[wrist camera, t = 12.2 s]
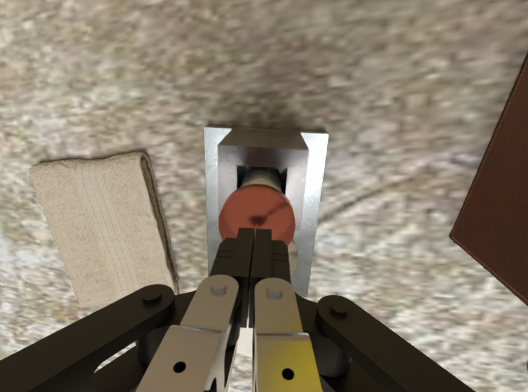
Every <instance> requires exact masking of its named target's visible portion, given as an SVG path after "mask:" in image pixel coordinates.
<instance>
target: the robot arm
mask: <svg viewBox="0 0 528 392" xmlns="http://www.w3.org/2000/svg"><path fill="white" fill-rule="evenodd" d="M254 241H255V242H254ZM248 311H249V325H248V328H253V338H252V392H322V391H323V392H475V391H474V390H473V389H471V388H470V387H469V386H467V385H466V384H464V383H463V382H462V381H460V380H459V379H458V378H456V377H455V376H453V375H452V374H451V373H449V372H448V371H447V370H445V369H444V368H443V367H441V366H440V365H438V364H437V363H436V362H434V361H433V360H432V359H430V358H429V357H427V356H426V355H425V354H423V353H422V352H421V351H419V350H418V349H417V348H415V347H414V346H412V345H411V344H410V343H408V342H407V341H406V340H404V339H403V338H401V337H400V336H399V335H397V334H396V333H395V332H393V331H392V330H391V329H389V328H388V327H386V326H385V325H384V324H382V323H381V322H380V321H378V320H377V319H375V318H374V317H373V316H371V315H370V314H369V313H367V312H366V311H365V310H363V309H362V308H360V307H359V306H358V305H356V304H355V303H354V302H352V301H351V300H349V299H347V298H345V297H342V296H337V295H328V296H325V297H323V298H321V299H320V300H319V302H318V303H316V302H313V301H310V300H307V299H304V298H302V297H301V296H299V295H298V294H297V293H296V292H295V291H294V288H293V286H292V285H291V276H290V264H289V253H288V246H287V245H286V244H285V243H284V241H281V240H272V229H259V228H256V234H255V228H241V227H239V230H238V234H237V238H229V237H227V238H225V239H224V240H223V241H222V242H221V243H220V245H219V248H218V252H217V254H216V257H215V260H214V263H213V266H212V269H211V272H210V275H209V277H207V278H205V279H204V280H203V281H202V282H201V283H200V284H199V286H198V288H197V290H195V291H193V292H189V293H184V294H178V295H174V291H173V289H172V288H171V287H169V286H167V285H163V284H152V285H148V286H145V287H143V288H140V289H139V290H137V291H135V292H133V293H131V294H129V295H127V296H125V297H123V298H121V299H119V300H117V301H115V302H113V303H111V304H109V305H107V306H105V307H104V308H102V309H100V310H98V311H96V312H94V313H92V314H90V315H88V316H86V317H84V318H82V319H80V320H78V321H76V322H74V323H72V324H70V325H69V326H67V327H65V328H63V329H61V330H59V331H57V332H55V333H53V334H51V335H49V336H47V337H45V338H43V339H41V340H39V341H37V342H35V343H34V344H32V345H30V346H28V347H26V348H24V349H22V350H20V351H18V352H16V353H14V354H12V355H10V356H8V357H6V358H4V359H3V360H0V392H227V391H228V387H229V382H230V378H231V373H232V369H233V364H234V360H235V356H236V351H237V346H238V339H239V335H240V328H247V320H248ZM134 341H135V343H136V346H134V347H133V348H131V349H130V350H128V351H127V352H125V353H124V354H122V355H121V356H119V357H118V358H116V359H115V360H113V361H112V362H110V363H109V364H107V365H106V366H104V367H102V368H101V369H99V370H98V371H96V372H95V370H96V369H97V367H98V366H99V365H100V364H101V363H102V362H104V361H105V360H107V359H108V358H110V357H111V356H113V355H114V354H116V353H117V352H119V351H121V350H122V349H124V348H125V347H127V346H128V345H130V344H131V343H133V342H134ZM94 372H95V373H94Z"/></svg>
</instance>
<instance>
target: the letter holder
mask: <svg viewBox="0 0 528 392" xmlns="http://www.w3.org/2000/svg"><path fill="white" fill-rule="evenodd" d="M450 238H451V239H452V240H453V241H454V242H455V243H456V244H457V245H459V246H460V247H461V248H462V249H463V250H465V251H466V252H467V253H468V254H469V255H470V256H471V257H472V258H473V259H475V260H476V261H477V262H478V263H479V264H481V265H482V266H483V267H484V269H486V270H487V271H489V272H490V273H491V274H492V275H493V276H494V277H495V278H496V279H497V280H499V281H500V282H501V283H502V284H503V285H504V286H505V287H507V288H508V289H509V290H510V291H511V292H512V293H513V294H514V295H516V296H517V297H518V298H519V299H520V300H521V301H522V302H524V303H525V304H526V305H527V306H528V56H527V58H526V61H525V63H524V66H523V68H522V70H521V73H520V75H519V77H518V80H517V82H516V84H515V87H514V89H513V91H512V94H511V96H510V98H509V100H508V103H507V105H506V107H505V110H504V112H503V114H502V117H501V119H500V121H499V123H498V126H497V128H496V130H495V133H494V135H493V137H492V140H491V142H490V144H489V147H488V149H487V151H486V153H485V156H484V158H483V161H482V163H481V165H480V167H479V170H478V172H477V174H476V177H475V179H474V182H473V184H472V186H471V189H470V191H469V193H468V196H467V198H466V200H465V203H464V205H463V207H462V210H461V212H460V214H459V217H458V219H457V221H456V224H455V226H454V228H453V231H452V233H451V235H450Z"/></svg>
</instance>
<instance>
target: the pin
mask: <svg viewBox="0 0 528 392" xmlns="http://www.w3.org/2000/svg"><path fill="white" fill-rule="evenodd" d="M239 227H241V228H255V234H256V228H259V229H272V240H281V241H284V243H285V244H286V245H287V246H288V245H289V244H290V242H291V241H292V239H293V236H294V233H295V217H294V211H293V207H292V205H291V203H290V201H289V199H288V198H287V197H286V196H285V195H284V194H283V193H282V190H281V176H280V172H279V170H278V168H276V167H259V166H249V167H248V169H247V170H246V173H245V176H244V179H243V182H242V185H241V187H240V188H238V189H236V190H235V191H234V192H232V193H231V194H230V195H229V197H228V198H227V199H226V201H225V203H224V205H223V207H222V210H221V212H220V215H219V220H218V228H219V233H220V235H221V238H222V240H224V239H225V238H227V237H229V238H237V234H238V230H239ZM254 242H255V241H254Z"/></svg>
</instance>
